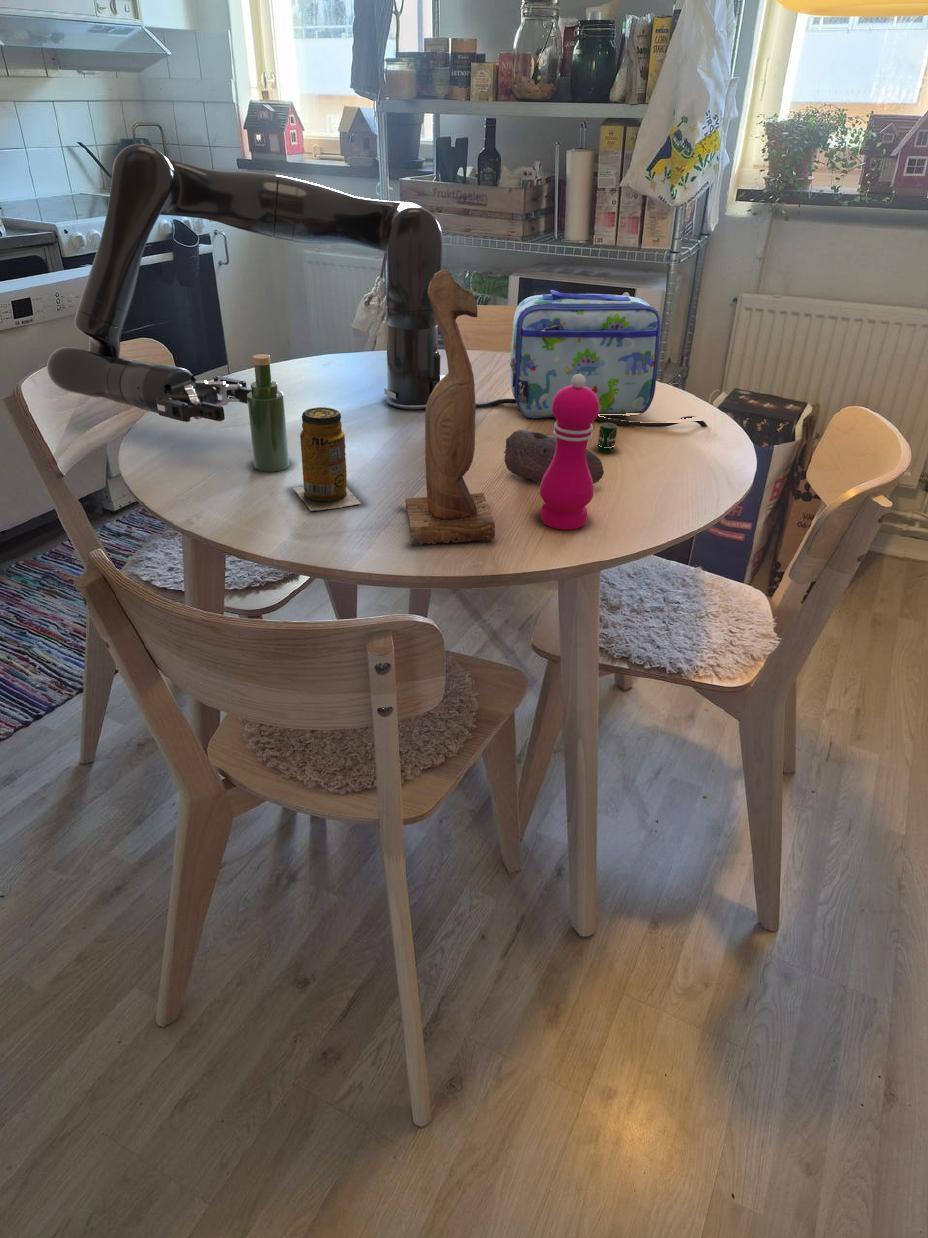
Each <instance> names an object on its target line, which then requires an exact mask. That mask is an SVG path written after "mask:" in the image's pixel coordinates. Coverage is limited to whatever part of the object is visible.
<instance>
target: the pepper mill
mask: <svg viewBox="0 0 928 1238" xmlns="http://www.w3.org/2000/svg"><path fill="white" fill-rule="evenodd" d="M571 383H572V385H571V386H567V387H564V388H562V389H561V390H559V391H558V393H557V394H556V395H555V397H554V399H553V403H552V412H553V415H554V417H553V418H555V420H556V421H555V422H554V424H553V428H554V430H553V436H555V437H556V450H555V454H554V457H553V459H552V461H551V463H550V465H549V467H548V469H547V470H546V472H545V474H544V476H543V478H542V481H540V485H539V495H540V498H541V499H542V501H543V502H544V503H543V504H542V506H541V511H540V520H541V521H542V523H543V524H544V525H546V526H548V527H550V528H553V529H557V530H565V531H566V530H576V529H580V528H582V527H584V526H585V525H586V523H587V520H588V507H586V506H587V505H589V504H590V503H591V501H593V498H594V489H595V487H594V484H593V480H592V477H591V474H590V471H589V468H588V465H587V459H586V449H588V447H587V446H588V442H589V440H590V439H591V438H592V437H593V430H594V426H593V425H592V423H593V422H594V421H596V420H595V419H596V418H597V416H598V414H599V400H598V397H597V395H596V394H595V393H594V392H593V391H592V390H591V389H589V388H587V387H585V386H584V385H585V377H584V376H583V375H581V374H576V375H574V376H573V377H572V380H571Z"/></svg>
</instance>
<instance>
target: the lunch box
mask: <svg viewBox="0 0 928 1238" xmlns="http://www.w3.org/2000/svg"><path fill="white" fill-rule="evenodd" d="M549 293H550V294H545V293H543V294H538V295H531V296H529V297H526V298H524V299H523V300H522V301H521V302H520V303H518V305H517V307H516V309H515V312H514V317H513V322H512V330H511V331H512V332H511V341H510V342H511V343H510V363H509V366H510V387H511V388H510V389H511V392H512V396H513V399H515V400H516V404H515V405H516V406H517V408H518V409H519V411H520V412H521V413H522V414H523V415H524V416H525V417H527V418H529V419H543V418H555V417H554V415H553V412H552V403H553V399H554V397H555V395H556V394H557V393H558V391H559V390H561V389H562V388H564V387H567V386H571V385H572V383H571V380H572V377H573V376H574V375H576V374H581V375H583V376H584V377H585V385H584V386H585V387H587V388H589V389H591V390H592V391H593V392H594V393H595V394H596V395H597V397H598V400H599V414H626V413H642V414H644V413H645V412H647V411H648V409H649V408H650V406H651V404H652V402H653V400H654V397H655V392H656V385H657V375H658V366H659V365H658V363H659V352H660V351H659V350H660V343H661V342H660V341H661V331H662V329H661V327H662V326H661V316H660V314H659V311H658V310H657V309H656V308H655V307H652V306H651V305H650V304H649V303H648V302H646V301H645V300H643V299H641V298H638V297H635V296H628V295H619V294H607V293H606V294H605V293H604V294H603V293H566V292H565V293H563V292H559V291H558V290H554V289H550V290H549ZM600 416H604V417H609V418H612V417H614V418H615V417H618V418H622V417H624V416H623V415H600ZM635 416H637V415H630V416H629V417H635Z"/></svg>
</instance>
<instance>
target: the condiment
mask: <svg viewBox="0 0 928 1238" xmlns="http://www.w3.org/2000/svg"><path fill="white" fill-rule="evenodd" d="M301 421H302V422H301V428H302V430H301V432H300V434H299V438H300V449H301V450H300V452H301V466H302V481H303V486H297V487H293V490H294V491H295V493H296V495H298V497H299V498H300V499H301V501H303V503H304V504H305V506H306V508H308V509H309V511H310V512H311V511H325V510H332V509H337V508H338V509H342V508H343V507H350V506H354V505H360V504H361V502H360V500H359V499H358V498H357V496H355V495H354V494H353V493H352V491H350V489H349V488H348V487H347V486H348V485H347V481H348V479H347V477H348V476H347V457H346V437H345V436H346V435H345V432H344V430H343V429H342V428H343V427H342V414H341V412H340V411H339V410H337V409H335V408H331V407H327V406H326V407H324V406H323V407H322V406H320V407H310V408H308V409H306V410H304V411H303V412H302V414H301Z"/></svg>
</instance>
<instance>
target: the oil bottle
mask: <svg viewBox="0 0 928 1238" xmlns="http://www.w3.org/2000/svg"><path fill="white" fill-rule="evenodd" d="M252 364H253V366H254V376H255V381H253V382H251V383H250V389H251V392H249V393H248V394H247V402H248V404H247V411H248V421H249V428H250V438H251V447H252V448H251V449H252V456H253V465H254V466H253V467H254V469H255V470H257V471H260V472H266V473H273V472H281V471H284V470H286V469H287V468H289V466H290V457H289V456H290V455H289V446H288V435H287V421H286V409H285V399H284V398H285V397H284V393H283V392H282V391H280V390H279V386H278V382H276V381H273V380H272V372H271V371H272V369H271V356H270V355H269V354H266V353H258V354H254V355H252Z"/></svg>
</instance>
